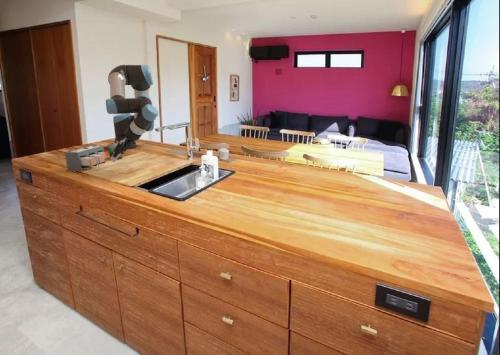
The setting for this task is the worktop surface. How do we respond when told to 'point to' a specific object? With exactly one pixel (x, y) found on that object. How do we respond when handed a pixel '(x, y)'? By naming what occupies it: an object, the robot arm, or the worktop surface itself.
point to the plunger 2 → (101, 154)
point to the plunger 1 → (87, 161)
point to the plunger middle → (97, 158)
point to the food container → (111, 149)
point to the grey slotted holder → (76, 154)
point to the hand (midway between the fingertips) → (112, 160)
